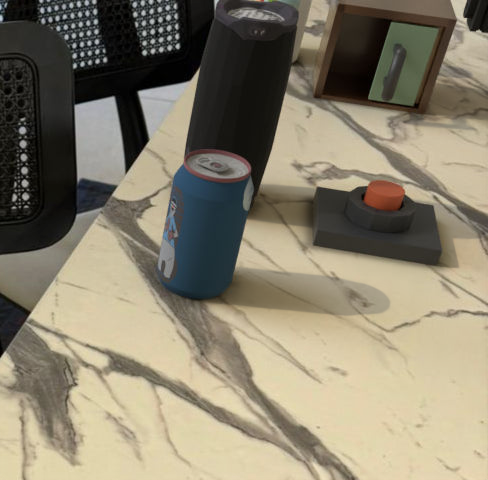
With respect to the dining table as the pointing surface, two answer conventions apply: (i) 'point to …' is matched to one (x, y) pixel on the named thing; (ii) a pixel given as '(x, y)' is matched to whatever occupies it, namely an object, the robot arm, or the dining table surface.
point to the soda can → (205, 223)
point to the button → (384, 195)
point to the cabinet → (375, 48)
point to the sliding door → (403, 63)
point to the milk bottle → (302, 4)
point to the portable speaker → (243, 81)
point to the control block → (375, 227)
